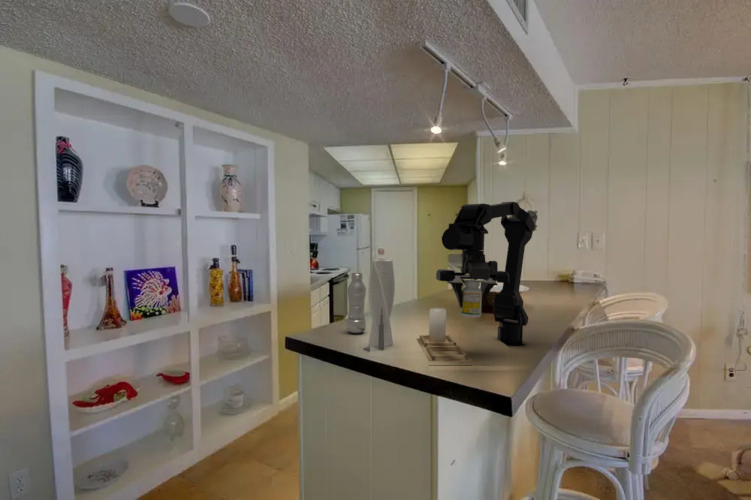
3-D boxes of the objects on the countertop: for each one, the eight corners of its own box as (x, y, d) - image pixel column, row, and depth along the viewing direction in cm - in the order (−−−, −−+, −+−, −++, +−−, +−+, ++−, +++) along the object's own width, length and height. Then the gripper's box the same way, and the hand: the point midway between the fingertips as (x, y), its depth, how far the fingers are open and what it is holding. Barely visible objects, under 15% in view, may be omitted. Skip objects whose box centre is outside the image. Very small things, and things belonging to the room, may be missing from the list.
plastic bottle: (344, 334, 130) (345, 274, 130) (349, 330, 137) (349, 272, 136) (363, 335, 129) (364, 274, 128) (367, 331, 136) (368, 272, 135)
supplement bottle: (475, 318, 104) (476, 282, 104) (457, 315, 107) (458, 280, 107) (484, 316, 108) (485, 280, 108) (466, 313, 112) (467, 279, 111)
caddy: (451, 342, 122) (451, 334, 122) (472, 365, 100) (472, 356, 100) (416, 342, 122) (416, 334, 122) (428, 365, 100) (429, 356, 100)
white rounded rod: (443, 340, 120) (444, 307, 119) (447, 345, 115) (447, 310, 114) (427, 340, 119) (428, 307, 119) (430, 345, 115) (431, 310, 114)
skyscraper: (359, 348, 114) (361, 251, 113) (378, 343, 120) (380, 251, 119) (381, 354, 108) (383, 252, 108) (400, 349, 114) (401, 252, 114)
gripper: (445, 250, 99) (443, 312, 99) (518, 252, 100) (516, 313, 100) (436, 249, 110) (434, 305, 110) (502, 250, 111) (500, 306, 111)
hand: (471, 307), depth 108 cm, fingers closed on supplement bottle, 5 cm apart
